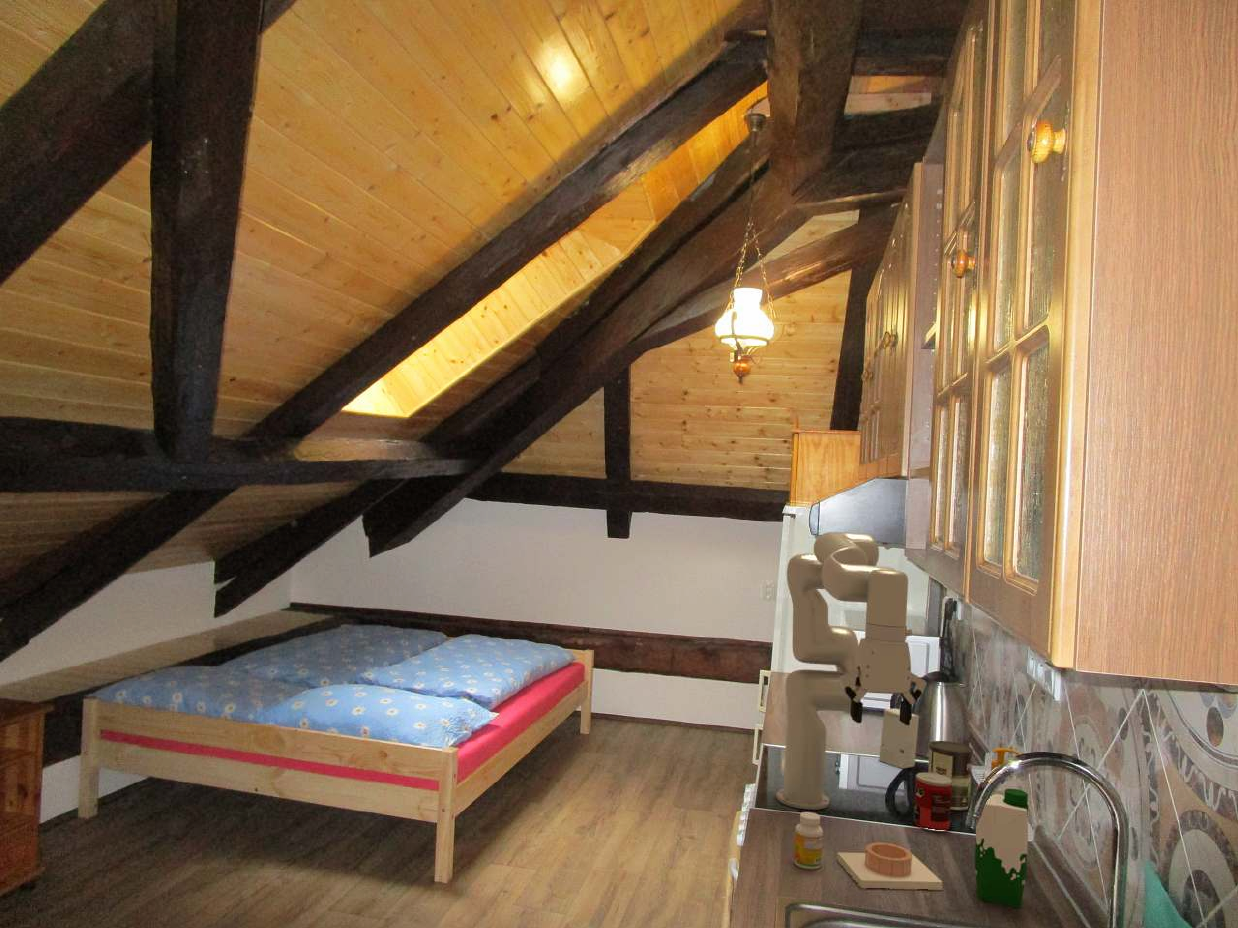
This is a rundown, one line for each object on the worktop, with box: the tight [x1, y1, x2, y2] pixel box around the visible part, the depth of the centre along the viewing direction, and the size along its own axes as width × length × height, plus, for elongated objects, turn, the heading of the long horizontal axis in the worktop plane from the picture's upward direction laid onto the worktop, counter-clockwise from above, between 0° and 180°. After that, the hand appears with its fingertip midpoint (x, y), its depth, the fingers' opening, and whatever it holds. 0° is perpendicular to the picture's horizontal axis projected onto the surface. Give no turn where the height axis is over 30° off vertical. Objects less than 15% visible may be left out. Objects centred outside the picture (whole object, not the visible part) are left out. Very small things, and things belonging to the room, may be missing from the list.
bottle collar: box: [864, 842, 913, 876], centre depth 175 cm, size 9×9×3 cm
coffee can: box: [927, 740, 974, 811], centre depth 221 cm, size 10×10×14 cm
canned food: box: [913, 772, 952, 831], centre depth 204 cm, size 8×8×11 cm
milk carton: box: [974, 788, 1029, 909], centre depth 168 cm, size 9×9×20 cm
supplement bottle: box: [793, 811, 824, 870], centre depth 177 cm, size 5×5×10 cm
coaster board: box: [836, 852, 943, 891], centre depth 175 cm, size 13×16×2 cm
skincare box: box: [879, 708, 920, 769], centre depth 253 cm, size 8×6×15 cm
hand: (880, 722), depth 172 cm, fingers open, 9 cm apart
